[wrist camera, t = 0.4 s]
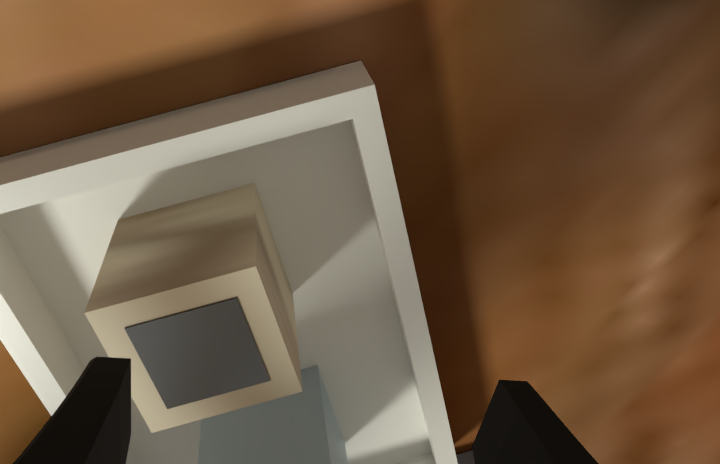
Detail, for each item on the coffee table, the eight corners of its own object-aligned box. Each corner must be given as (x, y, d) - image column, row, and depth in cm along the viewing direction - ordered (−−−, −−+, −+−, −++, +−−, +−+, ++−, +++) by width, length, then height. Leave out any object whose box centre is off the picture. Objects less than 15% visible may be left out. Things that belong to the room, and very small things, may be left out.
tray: (449, 449, 29) (465, 495, 27) (167, 527, 29) (160, 580, 27) (361, 60, 20) (374, 84, 18) (-51, 171, 20) (-88, 208, 18)
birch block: (169, 326, 23) (151, 434, 19) (117, 219, 21) (83, 314, 17) (292, 293, 23) (302, 392, 19) (254, 182, 21) (255, 267, 17)
